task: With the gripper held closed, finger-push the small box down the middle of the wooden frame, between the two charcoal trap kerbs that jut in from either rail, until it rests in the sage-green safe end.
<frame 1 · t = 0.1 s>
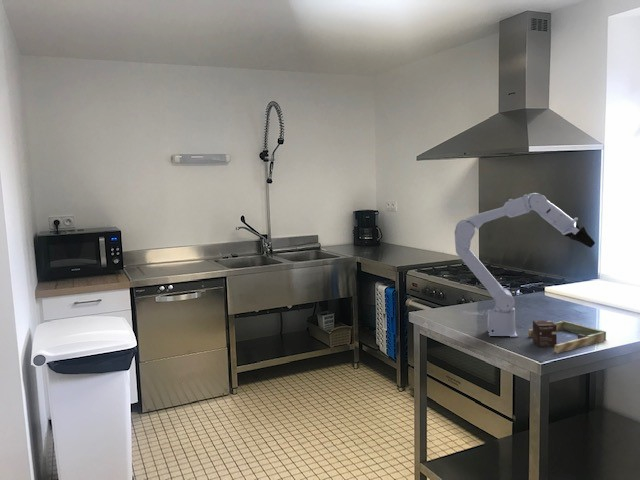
hand: (589, 243, 178), 32 cm above the table, tool tilted 50°, fingers open, 7 cm apart
wooden frame: (559, 340, 179), on the table
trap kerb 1: (540, 336, 184), on the table
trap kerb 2: (581, 343, 174), on the table
box: (544, 344, 176), on the table
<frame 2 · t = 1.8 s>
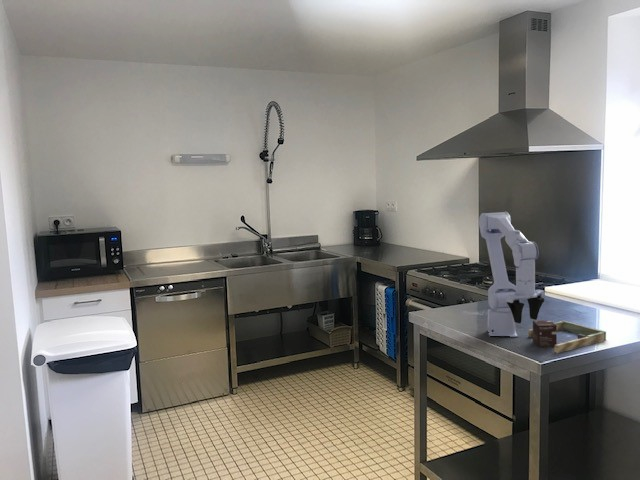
hand: (525, 320, 171), 9 cm above the table, tool pointing down, fingers open, 6 cm apart
nothing on the table moved.
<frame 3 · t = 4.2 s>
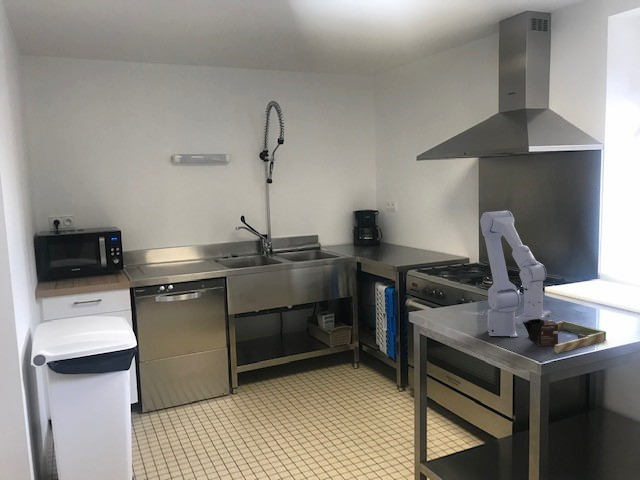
hand: (533, 341, 173), 2 cm above the table, tool pointing down, fingers closed
box: (545, 344, 176), on the table, touching gripper
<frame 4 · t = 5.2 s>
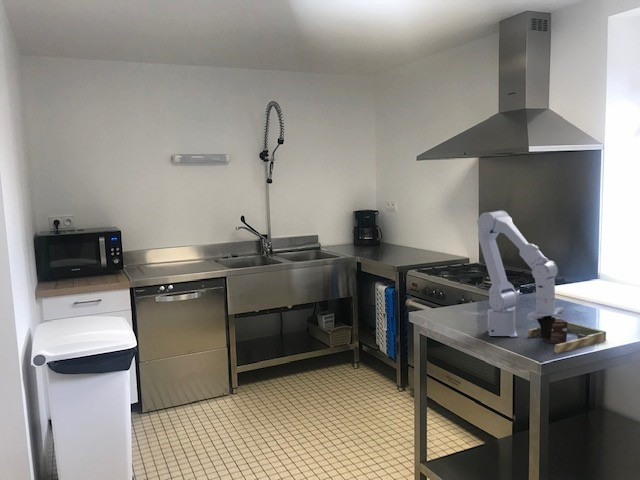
hand: (546, 338, 175), 2 cm above the table, tool pointing down, fingers closed, pressing on box
box: (553, 341, 178), on the table, touching gripper
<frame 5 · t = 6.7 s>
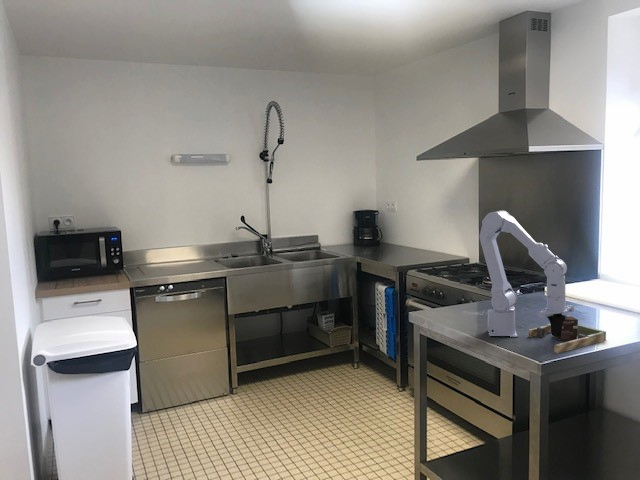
hand: (556, 335, 178), 2 cm above the table, tool pointing down, fingers closed, pressing on box
box: (564, 338, 180), on the table, touching gripper
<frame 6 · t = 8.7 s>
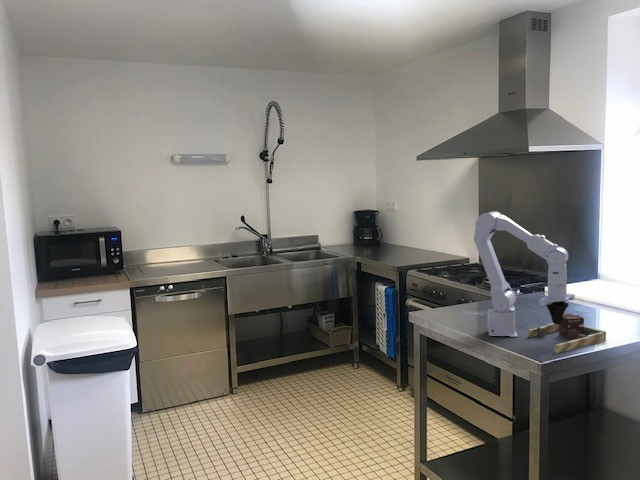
hand: (556, 323, 178), 6 cm above the table, tool pointing down, fingers closed
box: (571, 337, 182), on the table
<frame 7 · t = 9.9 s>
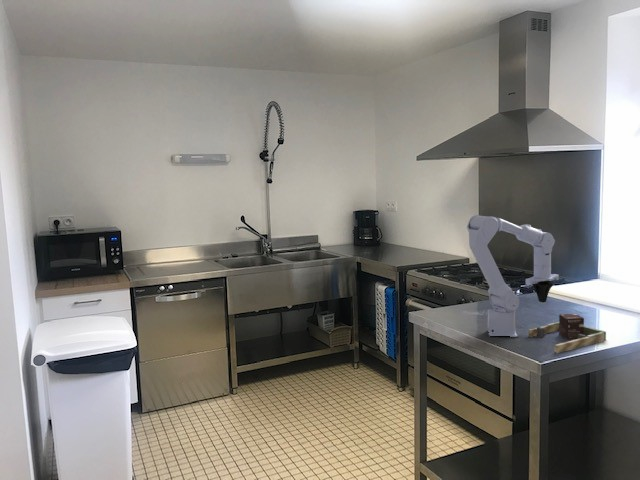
hand: (542, 301, 192), 10 cm above the table, tool pointing down, fingers closed
nothing on the table moved.
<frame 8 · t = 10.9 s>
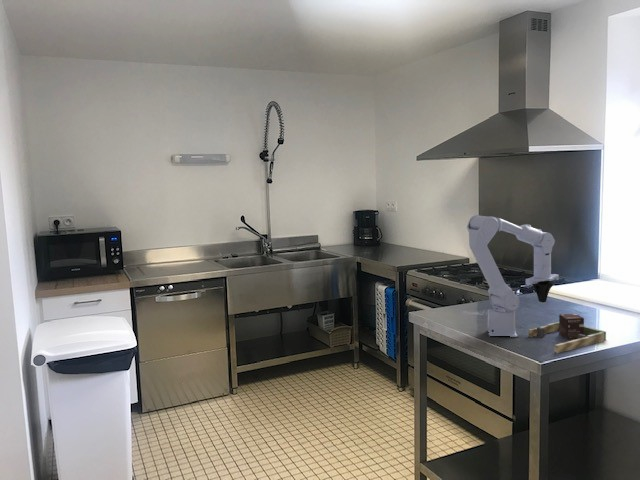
hand: (542, 301, 192), 10 cm above the table, tool pointing down, fingers closed
nothing on the table moved.
at the end: box inside the target area (0.8 cm from its centre), on the table; box touching table; box tilted 0° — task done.
